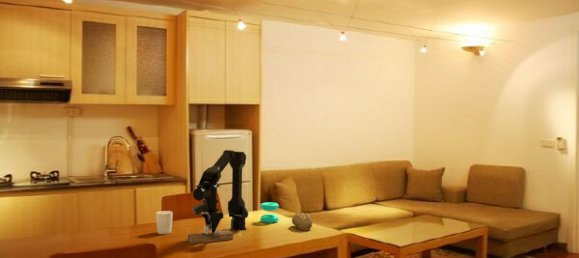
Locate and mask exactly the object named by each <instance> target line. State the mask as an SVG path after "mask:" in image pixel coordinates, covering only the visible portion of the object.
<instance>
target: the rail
mask: <svg viewBox="0 0 579 258" xmlns="http://www.w3.org/2000/svg"><path fill="white" fill-rule="evenodd" d="M229 240H234V232H233V231H231V230H219V231H218V230H217V234H213V233H212V231H208V235H204V232H201V233H200V232H198V233H189V234H187V242H189V244H191V245H193V244H203V243H212V242H219V241H220V242H222V241H229Z"/></svg>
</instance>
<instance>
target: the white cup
mask: <svg viewBox="0 0 579 258" xmlns="http://www.w3.org/2000/svg"><path fill="white" fill-rule="evenodd" d="M173 215H174V213H173V211H171V210H161V211H159V210H158V211H157V212H155V217H156V231H157V234H159V235H167V234H171V233H172V227H173Z"/></svg>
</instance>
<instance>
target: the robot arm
mask: <svg viewBox="0 0 579 258" xmlns="http://www.w3.org/2000/svg"><path fill="white" fill-rule="evenodd" d="M246 160H247V155H246V153H245V152H244V151H236V150H232V149H226V150H223V153H222V154H221V156H220V157H219V158H218V159H217V160H216V162H215V163H214V164H213V165H212V166H210V167H208V168H207V169H205V170H204V171H203V173H202V174H201V176H200V180H199V182H198V185H196V188H195V189H193V192H192V196H193V199H195V201H198V202H200V201H202V202H201V203H199V204H196V205H194V206H192V207H191V209H192V212H193V214H194V215H196V216H202V217H203V219H204V222H205V225H211V229H212V230H211V232H212V233H214V232H215V230H216V228H217V226H218V225H219V223H220V222H221V220H222V219H224V213H223V212H222V211H220V210H219V209H218V203H219V199H218V187H220V184H219V181H220V180H221V178H222V172H223V171H224V169H225V168H226V167H227V166H228V164H229V165H230V168H231V169H232V172H231V176H232V178H231V183H232V185H231V198H230V200H228V201H227V212H228V216H229V218H231V220H230V229H232V231H244V230H247V228H246V219H247V218H248V217H249V211H248V209H247V208H246V202H245V200H244V199H243V197H242V196H243V194H242V193H243V168H244V167H245V165H246ZM218 227H219V226H218Z"/></svg>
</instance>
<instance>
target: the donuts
mask: <svg viewBox="0 0 579 258" xmlns="http://www.w3.org/2000/svg"><path fill="white" fill-rule="evenodd" d="M279 207H280V206H279V204H278V203H277V202H272V201H271V202H270V201H269V202H263V203H261V204H260V209H261V210H263V211H267V212H272V211H277V210H278V209H279ZM260 222H262V223H264V222H266V223H265V224H272V223H273V222H275V223H277V222H279V216H278V215H276V214H273V213H271V214H269V213H267V214H263V215H261V217H260ZM273 224H274V223H273Z"/></svg>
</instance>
